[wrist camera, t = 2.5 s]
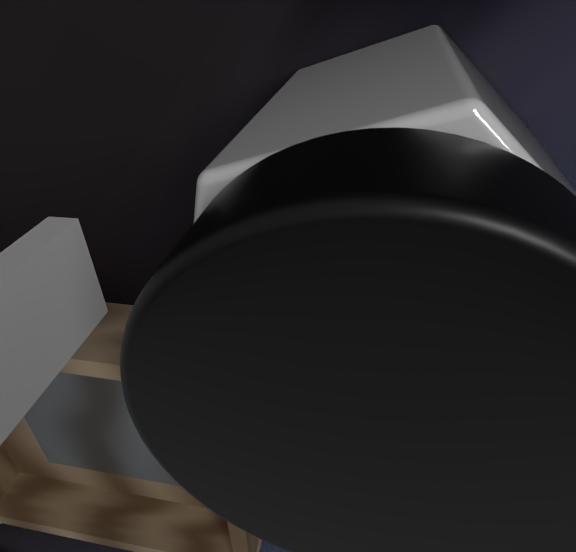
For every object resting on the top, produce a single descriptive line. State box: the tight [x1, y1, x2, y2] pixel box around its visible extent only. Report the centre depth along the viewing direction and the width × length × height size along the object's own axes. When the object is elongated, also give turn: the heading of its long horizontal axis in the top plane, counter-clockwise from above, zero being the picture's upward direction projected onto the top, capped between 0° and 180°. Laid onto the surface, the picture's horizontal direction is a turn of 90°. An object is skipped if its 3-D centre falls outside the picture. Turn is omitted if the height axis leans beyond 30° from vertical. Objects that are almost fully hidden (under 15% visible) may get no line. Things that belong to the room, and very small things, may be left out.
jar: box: [120, 25, 576, 552], centre depth 12 cm, size 9×8×12 cm
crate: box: [0, 302, 262, 552], centre depth 27 cm, size 20×18×4 cm
